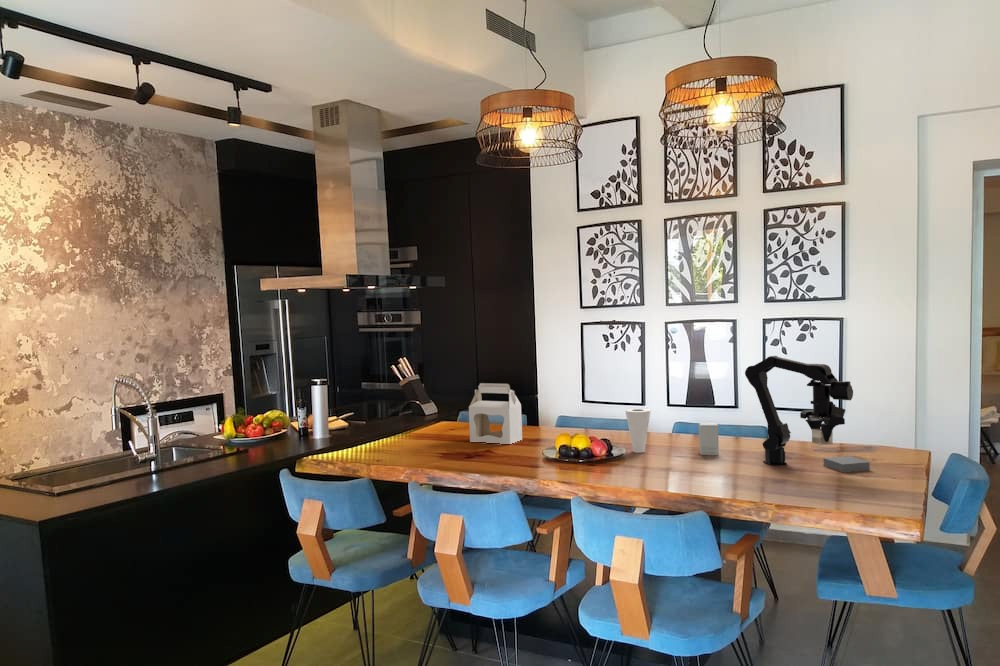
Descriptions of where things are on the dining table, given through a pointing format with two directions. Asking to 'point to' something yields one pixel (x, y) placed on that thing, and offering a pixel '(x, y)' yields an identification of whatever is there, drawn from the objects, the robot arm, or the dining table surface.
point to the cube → (820, 437)
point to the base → (846, 464)
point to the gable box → (504, 408)
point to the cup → (638, 427)
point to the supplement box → (708, 439)
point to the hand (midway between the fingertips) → (822, 440)
